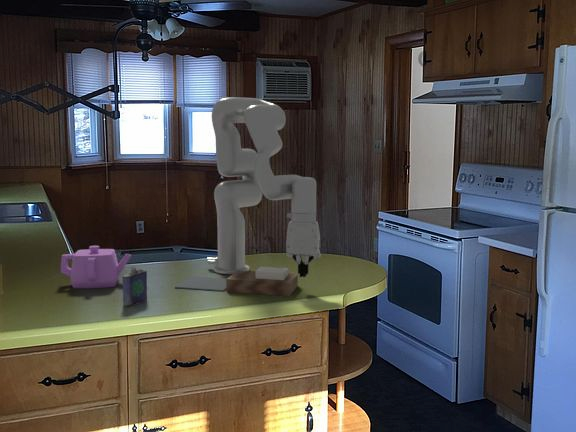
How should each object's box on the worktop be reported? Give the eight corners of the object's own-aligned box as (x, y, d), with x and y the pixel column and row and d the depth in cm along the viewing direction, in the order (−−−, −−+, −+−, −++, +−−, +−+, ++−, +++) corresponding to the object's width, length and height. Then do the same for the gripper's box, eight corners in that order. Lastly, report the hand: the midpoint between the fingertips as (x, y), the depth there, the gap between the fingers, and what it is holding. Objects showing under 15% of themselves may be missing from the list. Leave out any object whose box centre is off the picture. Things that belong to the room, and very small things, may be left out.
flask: (127, 307, 188) (126, 270, 186) (120, 306, 189) (118, 269, 188) (149, 299, 196) (148, 264, 194) (141, 298, 197) (140, 263, 196)
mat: (175, 288, 209) (175, 286, 209) (191, 277, 222) (191, 276, 222) (223, 291, 205) (223, 290, 205) (236, 280, 219) (236, 279, 219)
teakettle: (57, 284, 212) (55, 247, 210) (99, 274, 226) (98, 239, 224) (91, 293, 202) (90, 253, 200) (133, 282, 216) (132, 245, 214)
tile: (255, 278, 205) (255, 270, 205) (260, 273, 211) (260, 266, 211) (283, 280, 203) (283, 272, 203) (288, 275, 209) (288, 268, 209)
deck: (226, 291, 205) (226, 279, 204) (237, 282, 216) (237, 270, 216) (289, 295, 201) (289, 283, 200) (297, 286, 212) (297, 273, 211)
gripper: (277, 218, 200) (276, 277, 203) (325, 220, 197) (324, 280, 200) (282, 214, 207) (282, 272, 210) (329, 216, 204) (328, 274, 207)
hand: (303, 276), depth 205 cm, fingers closed
